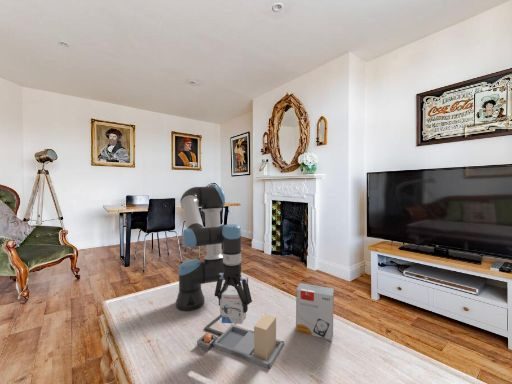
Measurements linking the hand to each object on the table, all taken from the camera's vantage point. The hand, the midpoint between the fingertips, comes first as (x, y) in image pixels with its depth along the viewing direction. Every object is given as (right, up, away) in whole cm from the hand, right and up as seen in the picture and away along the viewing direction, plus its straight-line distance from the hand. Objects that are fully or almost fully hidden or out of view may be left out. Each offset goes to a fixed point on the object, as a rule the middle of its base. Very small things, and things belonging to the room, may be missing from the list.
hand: (232, 316), depth 99 cm
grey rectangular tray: (+7, -11, -3) cm, 13 cm away
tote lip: (-5, -11, +14) cm, 18 cm away
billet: (+13, -10, -6) cm, 18 cm away
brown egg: (-10, -11, -1) cm, 15 cm away
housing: (-10, -11, -1) cm, 15 cm away
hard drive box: (+35, -11, +7) cm, 38 cm away
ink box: (0, -2, 0) cm, 2 cm away
